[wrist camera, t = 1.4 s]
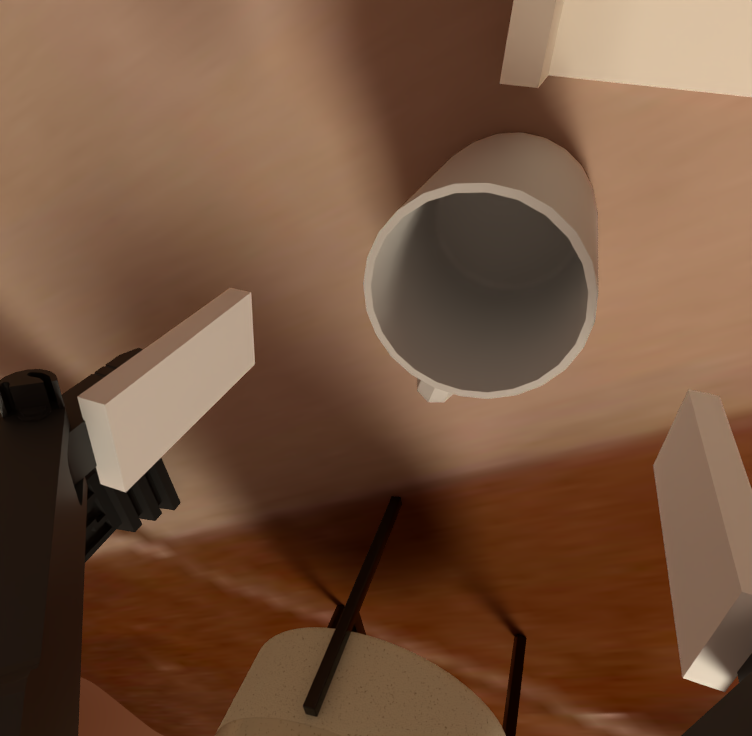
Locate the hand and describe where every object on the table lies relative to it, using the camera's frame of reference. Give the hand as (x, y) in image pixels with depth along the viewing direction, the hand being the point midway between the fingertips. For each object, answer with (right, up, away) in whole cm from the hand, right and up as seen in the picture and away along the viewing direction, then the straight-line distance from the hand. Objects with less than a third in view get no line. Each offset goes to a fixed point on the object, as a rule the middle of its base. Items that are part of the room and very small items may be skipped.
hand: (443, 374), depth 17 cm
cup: (+3, +6, +9) cm, 11 cm away
